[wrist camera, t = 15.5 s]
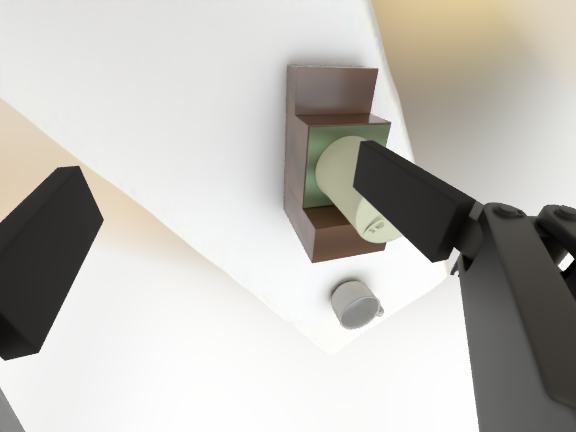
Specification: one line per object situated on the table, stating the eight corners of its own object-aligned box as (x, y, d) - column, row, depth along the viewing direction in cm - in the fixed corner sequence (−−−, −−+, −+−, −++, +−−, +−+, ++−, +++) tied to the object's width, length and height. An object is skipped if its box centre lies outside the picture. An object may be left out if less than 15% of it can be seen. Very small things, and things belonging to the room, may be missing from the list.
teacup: (318, 299, 68) (331, 325, 62) (345, 269, 65) (361, 294, 59) (353, 309, 75) (368, 334, 69) (379, 283, 72) (397, 306, 66)
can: (301, 172, 36) (340, 220, 26) (352, 120, 34) (414, 150, 24) (339, 207, 41) (384, 258, 31) (385, 163, 39) (448, 203, 29)
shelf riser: (287, 64, 38) (332, 75, 25) (362, 66, 41) (435, 76, 28) (283, 209, 50) (311, 263, 38) (340, 202, 53) (384, 250, 41)
